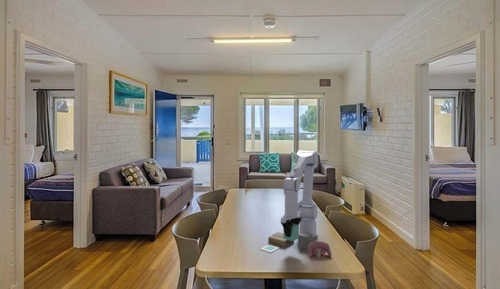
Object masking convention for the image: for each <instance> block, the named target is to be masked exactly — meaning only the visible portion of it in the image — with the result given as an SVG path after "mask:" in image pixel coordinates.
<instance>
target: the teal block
mask: <svg viewBox="0 0 500 289" xmlns="http://www.w3.org/2000/svg"><path fill="white" fill-rule="evenodd" d="M282 228H283V227H282ZM299 228H300V224H299V225H298V224H293V226H292V229H291V236H290V237H286V236H285V232H284V228H283V232H282V233H283V239H287V240H291V241H294V242H295V241H296V240H298V238H299Z"/></svg>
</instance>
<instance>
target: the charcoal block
mask: <svg viewBox="0 0 500 289" xmlns="http://www.w3.org/2000/svg"><path fill="white" fill-rule="evenodd" d="M311 242H314V238H313V234H310V233H305V232H302V233H301V234H299V238H298V239H297V248H299V249H303V250H307V251H308V244H310V243H311Z"/></svg>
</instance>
